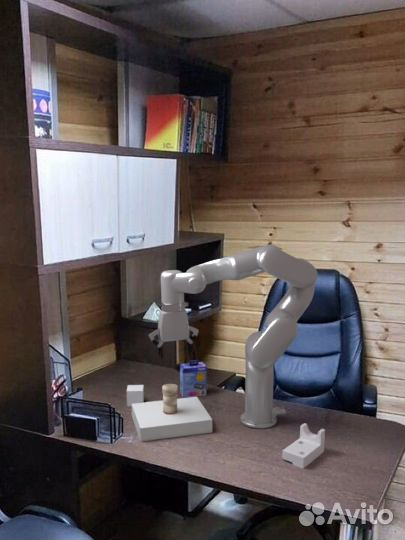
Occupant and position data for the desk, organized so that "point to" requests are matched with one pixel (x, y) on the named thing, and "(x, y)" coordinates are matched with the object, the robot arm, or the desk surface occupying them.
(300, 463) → the bracket
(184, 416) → the socket block
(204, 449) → the desk surface
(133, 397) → the white cube
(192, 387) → the ink cartridge box
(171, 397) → the beech leg
